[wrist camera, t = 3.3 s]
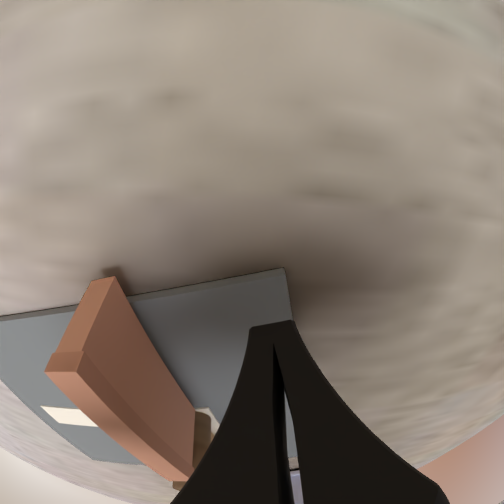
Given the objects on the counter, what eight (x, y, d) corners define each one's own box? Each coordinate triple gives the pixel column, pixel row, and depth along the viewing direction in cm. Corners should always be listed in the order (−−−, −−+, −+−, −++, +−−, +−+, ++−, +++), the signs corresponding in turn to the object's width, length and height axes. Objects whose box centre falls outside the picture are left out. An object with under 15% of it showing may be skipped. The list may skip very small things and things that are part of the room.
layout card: (311, 449, 19) (312, 454, 19) (93, 456, 21) (93, 460, 20) (283, 267, 11) (285, 276, 10) (-40, 322, 12) (-44, 327, 11)
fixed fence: (246, 461, 20) (249, 515, 16) (223, 463, 20) (224, 516, 16) (205, 401, 15) (203, 484, 11) (174, 404, 15) (166, 483, 11)
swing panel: (197, 409, 14) (193, 481, 11) (175, 411, 14) (169, 480, 11) (117, 275, 10) (75, 371, 6) (89, 281, 10) (43, 371, 6)
